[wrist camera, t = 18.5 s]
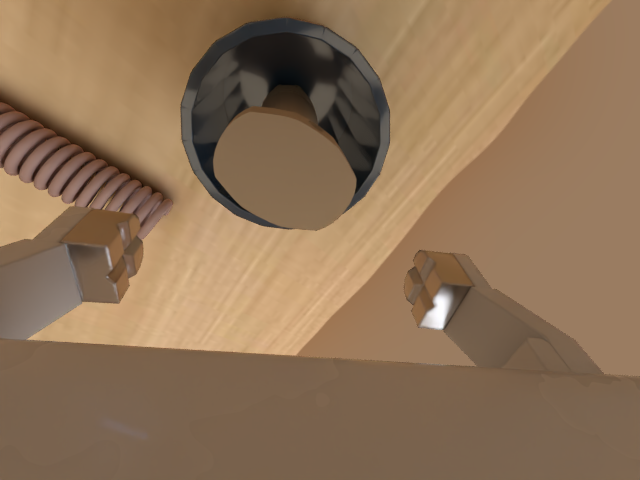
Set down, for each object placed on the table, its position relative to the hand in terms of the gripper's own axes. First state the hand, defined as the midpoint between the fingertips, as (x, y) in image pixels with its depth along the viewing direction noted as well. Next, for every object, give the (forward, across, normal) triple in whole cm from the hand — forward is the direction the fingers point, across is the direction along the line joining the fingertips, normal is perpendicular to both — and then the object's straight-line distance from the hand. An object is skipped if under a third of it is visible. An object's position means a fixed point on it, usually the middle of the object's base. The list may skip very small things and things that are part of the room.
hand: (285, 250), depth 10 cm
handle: (+21, 0, 0) cm, 21 cm away
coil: (+22, +18, +8) cm, 29 cm away
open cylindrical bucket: (+22, 0, 0) cm, 22 cm away
